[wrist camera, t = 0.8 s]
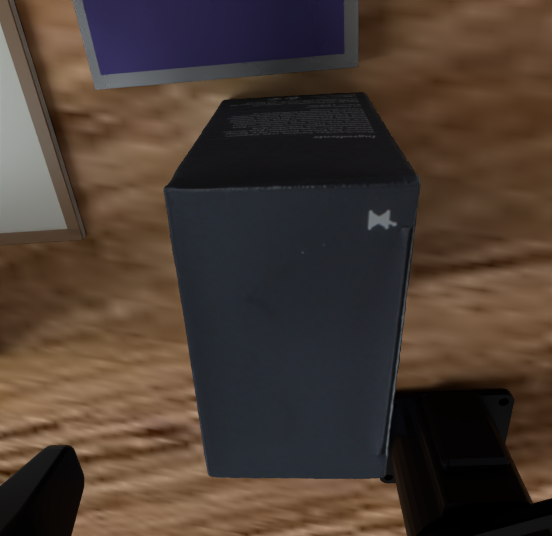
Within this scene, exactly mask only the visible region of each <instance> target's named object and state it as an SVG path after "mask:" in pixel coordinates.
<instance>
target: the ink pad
mask: <svg viewBox="0 0 552 536" xmlns="http://www.w3.org/2000/svg"><path fill="white" fill-rule="evenodd" d="M73 4H74V8H75V12H76V16H77V20H78V24H79V28H80V31H81V35H82V39H83V43H84V47H85V51H86V55H87V59H88V63H89V67H90V71H91V74H92V78H93V82H94V86H95V90H98V89H110V88H121V87H133V86H144V85H156V84H167V83H179V82H191V81H202V80H214V79H225V78H237V77H249V76H260V75H272V74H283V73H295V72H307V71H318V70H330V69H341V68H353V67H358V0H73Z"/></svg>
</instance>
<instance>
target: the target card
mask: <svg viewBox="0 0 552 536" xmlns="http://www.w3.org/2000/svg"><path fill="white" fill-rule="evenodd" d="M85 237H86V233H85V230H84V227H83V223H82V220H81V217H80V214H79V210H78V207H77V204H76V201H75V198H74V194H73V191H72V188H71V185H70V181H69V178H68V175H67V172H66V168H65V165H64V162H63V159H62V155H61V152H60V149H59V146H58V142H57V139H56V136H55V133H54V129H53V126H52V123H51V120H50V116H49V113H48V110H47V107H46V104H45V100H44V97H43V94H42V91H41V87H40V84H39V81H38V78H37V74H36V71H35V68H34V65H33V61H32V58H31V55H30V52H29V48H28V45H27V42H26V39H25V35H24V32H23V29H22V26H21V22H20V19H19V16H18V13H17V10H16V6H15V3H14V0H0V245H11V244H26V243H41V242H57V241H72V240H83V239H84V238H85Z"/></svg>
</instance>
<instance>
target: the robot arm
mask: <svg viewBox="0 0 552 536" xmlns="http://www.w3.org/2000/svg"><path fill="white" fill-rule="evenodd" d="M503 398H504V399H503ZM501 399H502V400H501ZM513 404H514V398H513V396H512V395H511V393H510V391H508V390H506V389H487V390H463V391H439V392H414V393H395V397H394V409H393V414H392V419H391V427H390V442H389V446H388V449H389V455H388V459H387V472H386V475H385V476H384V477H383V478H380V480H381V481H382V482H384V483H396V486H397V491H398V495H399V500H400V505H401V509H402V514H403V519H404V524H405V528H406V533H407V536H552V498H551V499H547V500H543V501H540V502H536V503H533V502H532V500H531V498H530V496H529V493H528V491H527V489H526V487H525V485H524V483H523V481H522V479H521V476H520V474H519V472H518V470H517V468H516V466H515V464H514V462H513V459H512V457H511V455H510V453H509V451H508V449H507V447H506V445H505V441H506V437H507V432H508V427H509V423H510V418H511V413H512V409H513ZM83 489H84V474H83V471H82V469H81V466H80V463H79V460H78V458H77V455H76V452H75V450H74V448H73V447H72V446H70V445H51V446H48V447H46V448H44V449H43V450H42V451H41V452H40V453H38V454H37V455H36V456H35V457H34V458H33V459H31V460H30V461H29V462H28V463H27V464H26V465H24V466H23V467H22V468H21V469H20V470H19V471H17V472H16V473H15V474H14V475H13V476H12V477H10V478H9V479H8V480H7V481H6V482H5V483H3V484H2V485H1V486H0V536H71V535H72V531H73V527H74V524H75V520H76V516H77V512H78V508H79V505H80V501H81V497H82V493H83Z"/></svg>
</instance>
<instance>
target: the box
mask: <svg viewBox="0 0 552 536" xmlns="http://www.w3.org/2000/svg"><path fill="white" fill-rule="evenodd" d="M420 186H421V183H420V178H419V176H418V175H417V174H416V173H415V172H414V169H413V168H412V166H411V165H410V163H409V162H408V161H407V160H406V158H405V156H404V154H403V153H402V151H401V150H400V149H399V147H398V145H397V144H396V142H395V140H394V139H393V137H392V136H391V135H390V133H389V131H388V129H387V128H386V126H385V124H384V123H383V121H382V120H381V118H380V116H379V114H378V113H377V112H376V110H375V108H374V106H373V104H372V103H371V102H370V100H369V98H368V96H367V95H366V94H365V93H363V92H358V93H335V94H318V95H299V96H283V97H264V98H247V99H230V100H223V101H222V103H221V104H220V106H219V107H218V109H217V110H216V112H215V113H214V115H213V116H212V118H211V120H210V121H209V123H208V124H207V125H206V127H205V128H204V129H203V131H202V133H201V135H200V136H199V138H198V139H197V141H196V142H195V144H194V145H193V147H192V148H191V150H190V151H189V152H188V154H187V155H186V157H185V158H184V160H183V161H182V162H181V164H180V165H179V167H178V168H177V170H176V172H175V174H174V176H173V178H172V180H171V181H170V182H169V184H168V185H166V186H165V187H164V195H165V202H166V208H167V214H168V221H169V228H170V237H171V242H172V250H173V255H174V261H175V266H176V272H177V277H178V285H179V291H180V297H181V303H182V308H183V314H184V321H185V328H186V334H187V341H188V347H189V354H190V361H191V368H192V374H193V381H194V387H195V393H196V400H197V407H198V414H199V421H200V427H201V433H202V441H203V446H204V455H205V460H206V465H207V471H208V475H209V476H211V477H219V478H227V477H229V478H313V479H369V478H383V477H384V476H385V475H386V472H387V459H388V455H389V449H388V446H389V442H390V427H391V419H392V414H393V409H394V397H395V392H396V379H397V373H398V367H399V361H400V351H401V342H402V332H403V325H404V315H405V309H406V297H407V289H408V283H409V276H410V267H411V258H412V250H413V241H414V232H415V225H416V214H417V207H418V200H419V193H420Z"/></svg>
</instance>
